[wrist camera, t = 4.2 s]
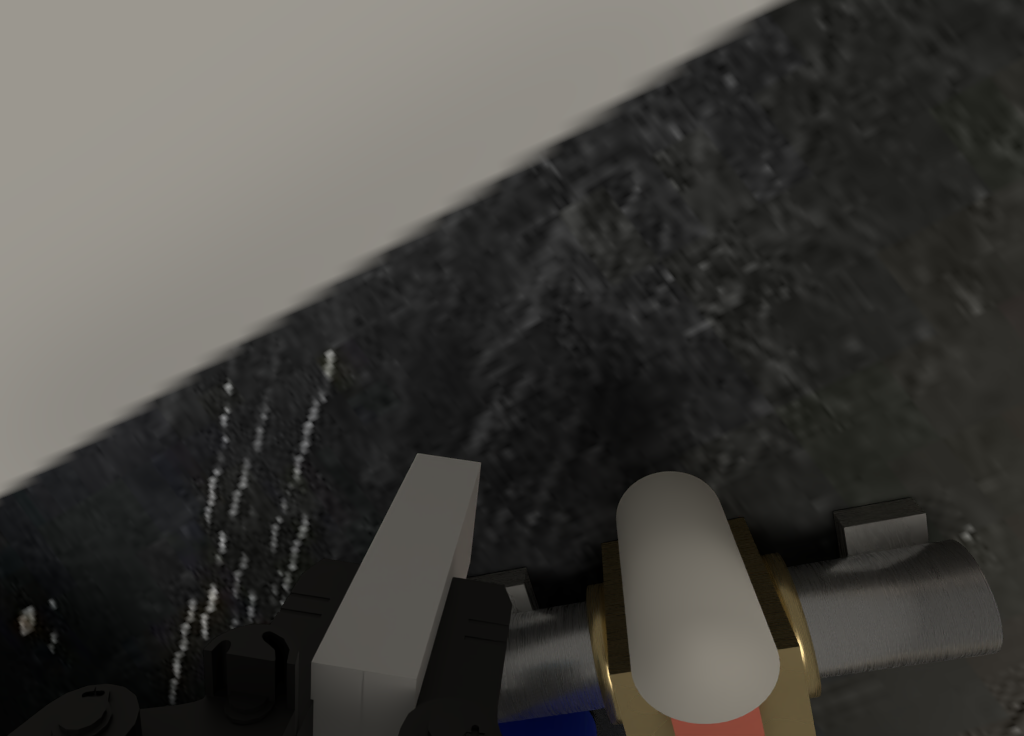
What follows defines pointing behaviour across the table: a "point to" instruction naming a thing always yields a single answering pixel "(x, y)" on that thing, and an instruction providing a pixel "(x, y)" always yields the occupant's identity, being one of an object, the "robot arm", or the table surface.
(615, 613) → the valve
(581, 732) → the beverage can
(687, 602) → the lever
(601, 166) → the table surface
